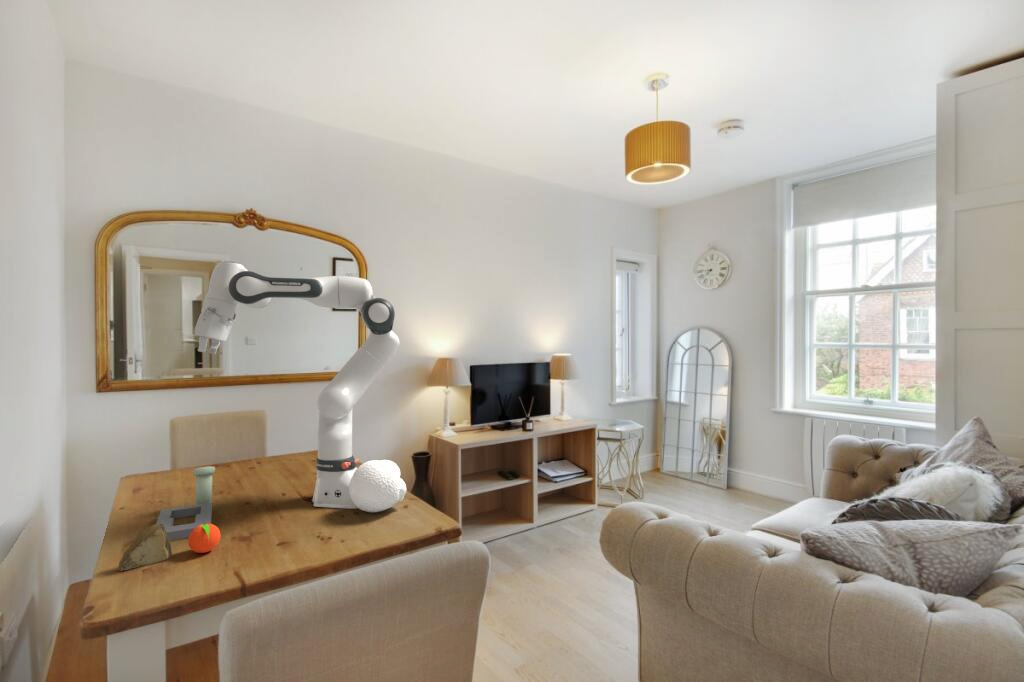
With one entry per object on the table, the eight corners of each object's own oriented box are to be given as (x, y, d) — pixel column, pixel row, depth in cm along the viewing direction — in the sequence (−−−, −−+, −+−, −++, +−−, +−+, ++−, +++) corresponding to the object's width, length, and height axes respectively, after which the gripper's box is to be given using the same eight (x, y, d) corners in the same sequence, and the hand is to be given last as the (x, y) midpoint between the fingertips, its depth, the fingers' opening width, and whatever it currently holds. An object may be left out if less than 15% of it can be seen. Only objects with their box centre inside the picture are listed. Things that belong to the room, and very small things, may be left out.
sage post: (218, 505, 155) (219, 467, 155) (201, 511, 150) (202, 471, 150) (205, 503, 157) (206, 465, 157) (188, 509, 151) (189, 470, 152)
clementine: (224, 553, 120) (225, 525, 120) (192, 562, 115) (192, 532, 115) (216, 543, 126) (217, 516, 126) (185, 551, 121) (185, 523, 121)
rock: (108, 568, 107) (159, 556, 110) (113, 532, 111) (162, 521, 115) (127, 578, 115) (174, 567, 118) (131, 544, 119) (176, 534, 123)
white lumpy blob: (331, 517, 145) (332, 464, 145) (360, 498, 163) (361, 451, 162) (393, 523, 142) (394, 469, 141) (415, 502, 159) (416, 455, 159)
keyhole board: (161, 517, 144) (161, 509, 144) (212, 510, 151) (212, 502, 151) (151, 544, 125) (151, 534, 125) (210, 534, 132) (210, 525, 132)
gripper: (219, 308, 143) (206, 352, 141) (237, 316, 163) (227, 356, 161) (195, 303, 142) (183, 348, 140) (217, 312, 161) (206, 352, 159)
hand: (206, 352), depth 151 cm, fingers open, 8 cm apart
